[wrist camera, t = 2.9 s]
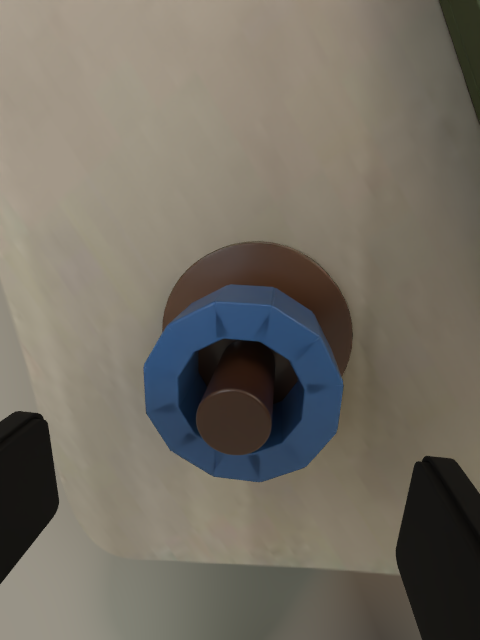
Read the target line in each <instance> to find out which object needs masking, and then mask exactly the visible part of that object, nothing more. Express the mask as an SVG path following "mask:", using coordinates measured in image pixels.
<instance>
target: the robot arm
mask: <svg viewBox="0 0 480 640" xmlns="http://www.w3.org/2000/svg"><path fill="white" fill-rule="evenodd" d="M58 505H59V497H58V490H57V483H56V476H55V469H54V462H53V456H52V449H51V442H50V435H49V428H48V423H47V421H46V420H44V419H43V416H42V415H41V414H39V413H31V412H22V411H18V412H14V413H12V414H11V415H9V416H8V417H7V418H5V419H4V420H2V421H1V422H0V584H1V583H2V581H3V580H4V579H5V578H6V576H7V575H8V574H9V573H10V571H11V570H12V569H13V567H14V566H15V565H16V563H17V562H18V561H19V560H20V559H21V557H22V556H23V555H24V553H25V552H26V551H27V550H28V548H29V547H30V546H31V545H32V543H33V542H34V541H35V540H36V538H37V537H38V536H39V534H40V533H41V532H42V531H43V529H44V528H45V527H46V526H47V524H48V523H49V522H50V520H51V519H52V518H53V517H54V515H55V513H56V511H57V509H58ZM396 560H397V565H398V569H399V572H400V575H401V578H402V581H403V584H404V586H405V590H406V592H407V596H408V598H409V602H410V604H411V608H412V610H413V614H414V617H415V620H416V623H417V626H418V629H419V631H420V634H421V638H422V640H480V494H479V492H478V491H477V489H476V488H475V487H474V485H473V484H472V483H471V481H470V480H469V478H468V477H467V476H466V474H465V473H464V472H463V470H462V469H461V467H460V466H459V465H458V463H457V462H456V461H455V460H453V459H451V458H442V457H433V456H425V457H424V458H423V460H422V462H419V461H418V462H416V463H415V465H414V469H413V473H412V478H411V483H410V487H409V492H408V496H407V501H406V505H405V510H404V514H403V519H402V523H401V528H400V532H399V537H398V541H397V546H396Z"/></svg>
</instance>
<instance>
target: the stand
mask: <svg viewBox="0 0 480 640" xmlns="http://www.w3.org/2000/svg"><path fill="white" fill-rule="evenodd" d="M230 284H232V285H249V286H266V287H274V288H277V289H278V290H280V291H281V292H283V293H284V294H286V295H288V296H289V297H291V298H292V299H294V300H295V301H297V302H298V303H300V304H301V305H303V306H304V307H306V308H308V309H309V310H311V311H312V312H313V314H314V315H315V317H316V319H317V321H318V323H319V325H320V327H321V329H322V331H323V333H324V335H325V337H326V339H327V341H328V343H329V346H330V348H331V350H332V352H333V355H334V358H335V361H336V363H337V366H338V369H339V372H340V374H341V377H342V375H343V373H344V371H345V369H346V367H347V364H348V361H349V358H350V353H351V349H352V337H353V333H352V322H351V317H350V313H349V309H348V307H347V304H346V301H345V299H344V297H343V295H342V293H341V291H340V290H339V288H338V286H337V285H336V284H335V282H334V281H333V280H332V278H331V277H330V276H329V275H328V273H327V272H326V271H325V270H324V269H323V268H322V267H321V266H320V265H319V264H317V263H316V262H315V261H313V260H312V259H311V258H309V257H308V256H306V255H304V254H303V253H301V252H299V251H297V250H295V249H292V248H290V247H287V246H284V245H280V244H276V243H271V242H262V241H253V242H242V243H236V244H232V245H229V246H226V247H223V248H221V249H218V250H216V251H214V252H212V253H210V254H208V255H206V256H204V257H203V258H201V259H200V260H198V261H197V262H196V263H194V264H193V265H192V266H191V267H190V268H189V269H188V270H187V271H186V272H185V273H184V274H183V275H182V276H181V278H180V279H179V280H178V282H177V283H176V285H175V286H174V288H173V290H172V292H171V294H170V296H169V298H168V301H167V304H166V307H165V311H164V317H163V329H162V333H163V331H164V329H165V328H166V326H167V325H168V324H169V323H170V322H171V321H173V320H174V319H175V318H176V317H177V316H178V315H179V314H180V313H181V312H182V311H184V310H185V309H186V308H187V307H188V306H189V305H190V304H191V303H193V302H195V301H197V300H199V299H201V298H203V297H205V296H207V295H209V294H211V293H213V292H215V291H217V290H219V289H221V288H222V287H224V286H226V285H230ZM198 372H199V374H200V376H201V377H202V379H203V381H204V382H205V384H206V386H207V389H206V391H205V393H204V395H203V397H202V400H201V402H200V404H199V406H198V409H197V412H196V425H197V429H198V431H199V433H200V435H201V437H202V438H203V440H204V441H205V442H206V443H207V444H208V445H209V446H210V447H212V448H213V449H215V450H217V451H219V452H221V453H224V454H228V455H246V454H249V453H252V452H254V451H256V450H258V449H259V448H260V447H262V445H263V444H264V443H265V442H266V441H267V439H268V438H269V436H270V433H271V428H272V415H273V404H275V403H278V402H280V401H283V399H284V398H285V397H286V395H287V394H288V393H289V392H290V390H291V389H292V388H293V387H294V385H295V384H296V383H297V382H298V377H297V375H296V373H295V371H294V369H293V367H292V365H291V364H290V362H289V360H288V359H286V358H284V357H283V356H281V355H280V354H278V353H277V352H275V351H274V350H272V349H270V348H269V347H267V346H266V345H264V344H263V343H261V342H259V341H246V340H234V339H222V340H220V341H218V342H216V343H214V344H211V345H209V346H207V347H205V348H203V349H201V350H199V351H198Z"/></svg>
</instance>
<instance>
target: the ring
mask: <svg viewBox="0 0 480 640" xmlns="http://www.w3.org/2000/svg"><path fill="white" fill-rule="evenodd" d="M222 339H234V340H246V341H259V342H261V343H263V344H264V345H266V346H267V347H269V348H270V349H272V350H274V351H275V352H277V353H278V354H280V355H281V356H283V357H284V358H286V359H288V360H289V362H290V364H291V365H292V367H293V369H294V371H295V373H296V375H297V377H298V382H297V383H296V384H295V385H294V387H293V388H292V389H291V390H290V392H289V393H288V394H287V395H286V397H285V398H284V399H283V401H280V402H278V403H275V404H273V415H272V428H271V433H270V436H269V438H268V439H267V441H266V442H265V443H264V444H263V445H262V447H260V448H259V449H258V450H256V451H254V452H252V453H249V454H246V455H228V454H224V453H221V452H219V451H217V450H215V449H213V448H212V447H210V446H209V445H208V444H207V443H206V442H205V441H204V440H203V438H202V437H201V435H200V433H199V431H198V429H197V425H196V412H197V409H198V406H199V404H200V402H201V400H202V397H203V395H204V393H205V391H206V389H207V386H206V384H205V382H204V381H203V379H202V377H201V376H200V374H199V372H198V351H199V350H201V349H203V348H205V347H207V346H209V345H211V344H214V343H216V342H218V341H220V340H222ZM144 386H145V404H146V414H147V415H148V417H149V418H150V420H151V421H152V423H153V424H154V426H155V427H156V429H157V431H158V432H159V434H160V435H161V437H162V438H163V440H164V441H165V443H166V444H167V446H168V448H169V449H170V451H173V452H174V453H175V454H177V455H179V456H180V457H182V458H184V459H185V460H187V461H188V462H190V463H192V464H193V465H195V466H197V467H198V468H200V469H202V470H203V471H205V472H207V473H208V474H210V475H212V476H213V477H221V478H229V479H237V480H245V481H253V482H263V481H266V480H269V479H272V478H275V477H278V476H281V475H284V474H287V473H290V472H293V471H296V470H299V469H302V468H305V467H306V466H307V465H308V464H309V463H310V462H311V461H312V460H313V459H314V457H315V456H316V455H317V454H318V453H319V452H320V451H321V450H322V449H323V447H324V446H325V445H326V444H327V443H328V442H329V441H330V440H331V439H332V437H333V436H334V435H335V434H336V432H337V429H338V422H339V415H340V408H341V401H342V394H343V387H344V385H343V380H342V377H341V374H340V372H339V369H338V366H337V363H336V361H335V358H334V355H333V352H332V350H331V348H330V346H329V343H328V341H327V339H326V337H325V335H324V333H323V331H322V329H321V327H320V325H319V323H318V321H317V319H316V317H315V315H314V314H313V312H312V311H311V310H309V309H308V308H306V307H304V306H303V305H301V304H300V303H298V302H297V301H295V300H294V299H292V298H291V297H289V296H288V295H286V294H284V293H283V292H281V291H280V290H278V289H277V288H274V287H266V286H249V285H232V284H230V285H226V286H224V287H222V288H221V289H219V290H217V291H215V292H213V293H211V294H209V295H207V296H205V297H203V298H201V299H199V300H197V301H195V302H193V303H191V304H190V305H189V306H188V307H187V308H186V309H185V310H184V311H182V312H181V313H180V314H179V315H178V316H177V317H176V318H175V319H174V320H173V321H171V322H170V323H169V324H168V325H167V326H166V328H165V329H164V331H163V333H162V334H161V336H160V338H159V340H158V341H157V343H156V345H155V346H154V348H153V350H152V352H151V353H150V355H149V357H148V358H147V360H146V362H145V364H144Z"/></svg>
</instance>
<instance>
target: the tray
mask: <svg viewBox="0 0 480 640" xmlns="http://www.w3.org/2000/svg"><path fill="white" fill-rule="evenodd" d="M439 1H440V4H441V7H442V10H443V13H444V16H445V19H446V22H447V25H448V28H449V31H450V34H451V37H452V40H453V44H454V47H455V50H456V53H457V56H458V59H459V62H460V65H461V68H462V71H463V74H464V77H465V80H466V83H467V86H468V89H469V92H470V95H471V98H472V101H473V104H474V108H475V111H476V114H477V117H478V120H479V123H480V0H439Z"/></svg>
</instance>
